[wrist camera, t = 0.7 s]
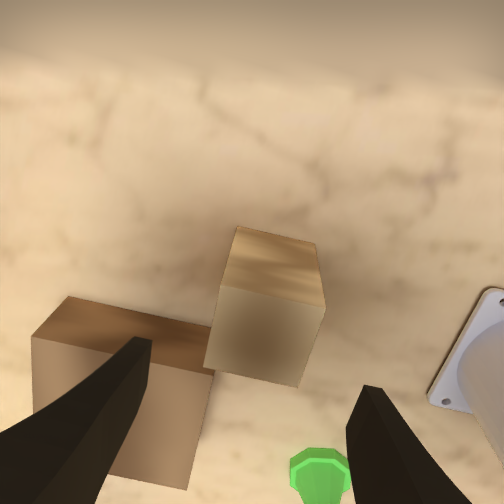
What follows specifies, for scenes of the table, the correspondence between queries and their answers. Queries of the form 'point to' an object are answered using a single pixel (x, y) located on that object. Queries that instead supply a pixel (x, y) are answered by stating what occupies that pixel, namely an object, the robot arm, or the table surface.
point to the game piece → (320, 475)
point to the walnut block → (158, 387)
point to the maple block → (267, 308)
